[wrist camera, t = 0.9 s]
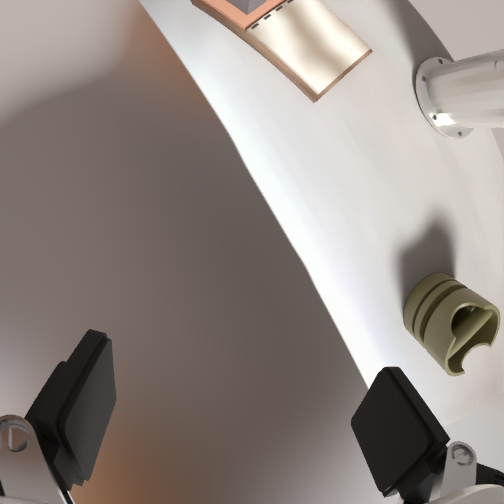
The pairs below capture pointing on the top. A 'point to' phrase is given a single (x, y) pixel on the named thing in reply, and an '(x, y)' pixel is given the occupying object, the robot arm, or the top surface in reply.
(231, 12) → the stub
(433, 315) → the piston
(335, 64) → the board
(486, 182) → the top surface
